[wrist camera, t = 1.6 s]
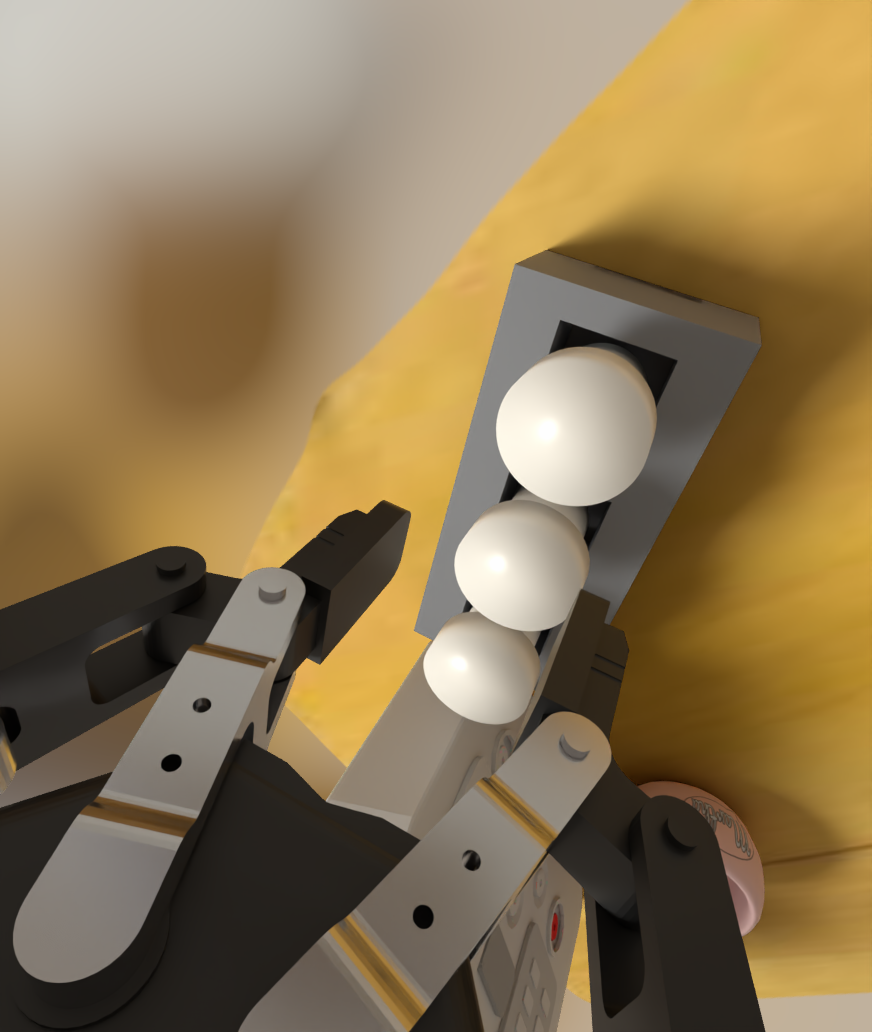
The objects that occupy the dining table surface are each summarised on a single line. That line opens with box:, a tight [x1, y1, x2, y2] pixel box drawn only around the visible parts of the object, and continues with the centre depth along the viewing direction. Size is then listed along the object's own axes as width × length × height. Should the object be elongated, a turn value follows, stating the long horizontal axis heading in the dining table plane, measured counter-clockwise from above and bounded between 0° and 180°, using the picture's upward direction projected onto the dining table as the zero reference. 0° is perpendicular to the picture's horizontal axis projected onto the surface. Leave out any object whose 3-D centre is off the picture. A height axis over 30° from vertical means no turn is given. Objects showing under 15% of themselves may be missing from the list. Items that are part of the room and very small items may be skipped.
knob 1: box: [496, 343, 657, 506], centre depth 24 cm, size 6×6×6 cm
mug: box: [637, 781, 765, 937], centre depth 40 cm, size 12×10×6 cm
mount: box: [414, 250, 762, 690], centre depth 32 cm, size 10×22×5 cm, turn 167°
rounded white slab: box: [326, 640, 582, 1032], centre depth 39 cm, size 29×8×18 cm, turn 17°
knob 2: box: [454, 486, 590, 631], centre depth 28 cm, size 6×6×6 cm
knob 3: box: [424, 606, 542, 724], centre depth 32 cm, size 6×6×6 cm
